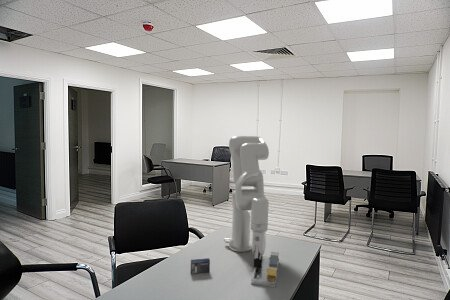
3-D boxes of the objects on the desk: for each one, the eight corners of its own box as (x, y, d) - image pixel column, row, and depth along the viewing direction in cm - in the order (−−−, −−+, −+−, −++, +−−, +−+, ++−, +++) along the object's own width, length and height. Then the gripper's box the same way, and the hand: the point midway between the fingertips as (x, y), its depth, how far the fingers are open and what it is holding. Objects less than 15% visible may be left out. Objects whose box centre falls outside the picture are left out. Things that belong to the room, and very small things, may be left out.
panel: (250, 283, 123) (251, 275, 123) (257, 259, 146) (258, 252, 146) (275, 287, 121) (275, 278, 121) (278, 262, 144) (279, 254, 144)
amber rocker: (265, 274, 123) (265, 271, 123) (267, 269, 132) (267, 266, 132) (276, 276, 122) (276, 272, 122) (277, 271, 131) (277, 268, 131)
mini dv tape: (191, 274, 129) (191, 261, 129) (190, 273, 131) (190, 259, 131) (209, 272, 132) (209, 259, 131) (208, 271, 133) (209, 258, 133)
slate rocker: (268, 265, 135) (268, 263, 135) (270, 253, 144) (270, 251, 144) (278, 266, 134) (278, 264, 134) (279, 255, 143) (279, 252, 143)
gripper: (266, 232, 122) (264, 276, 123) (269, 221, 136) (267, 260, 138) (247, 230, 124) (246, 273, 125) (252, 220, 138) (251, 258, 139)
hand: (257, 266), depth 131 cm, fingers closed
